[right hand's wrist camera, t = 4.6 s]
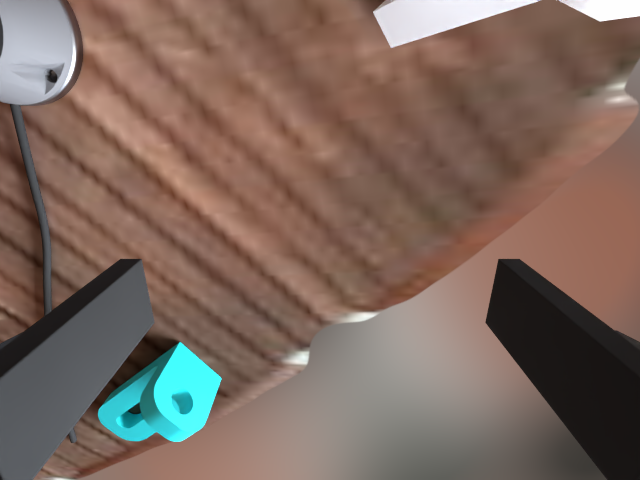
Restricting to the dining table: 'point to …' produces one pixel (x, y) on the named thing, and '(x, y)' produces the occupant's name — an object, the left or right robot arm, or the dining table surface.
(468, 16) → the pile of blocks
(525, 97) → the dining table surface
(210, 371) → the bracket
